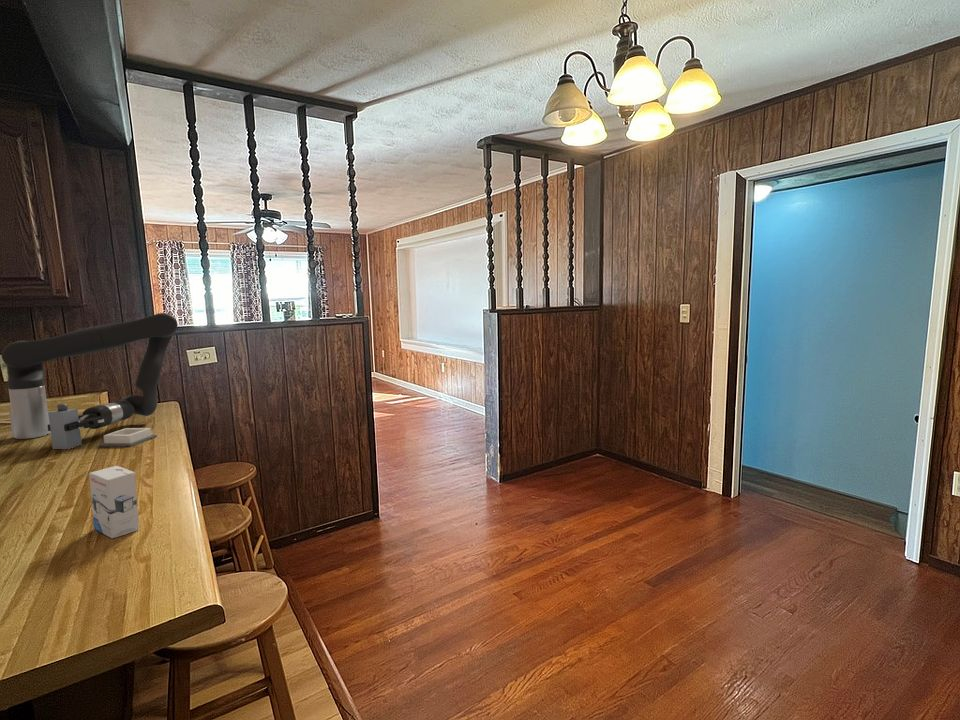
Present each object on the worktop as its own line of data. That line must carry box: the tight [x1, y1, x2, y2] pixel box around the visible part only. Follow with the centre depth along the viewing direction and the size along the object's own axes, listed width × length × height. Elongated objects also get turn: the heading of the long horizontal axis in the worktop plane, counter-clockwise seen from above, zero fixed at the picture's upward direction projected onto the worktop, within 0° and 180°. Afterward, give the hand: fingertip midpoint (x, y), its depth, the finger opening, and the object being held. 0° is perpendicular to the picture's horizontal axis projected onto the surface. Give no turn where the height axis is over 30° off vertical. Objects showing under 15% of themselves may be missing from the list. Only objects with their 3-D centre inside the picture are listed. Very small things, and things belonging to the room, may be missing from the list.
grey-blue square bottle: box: [48, 403, 83, 450], centre depth 155 cm, size 5×5×14 cm
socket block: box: [98, 427, 158, 447], centre depth 161 cm, size 11×11×3 cm
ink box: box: [88, 465, 140, 539], centre depth 97 cm, size 9×5×12 cm, turn 58°
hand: (57, 428), depth 152 cm, fingers closed on grey-blue square bottle, 5 cm apart
